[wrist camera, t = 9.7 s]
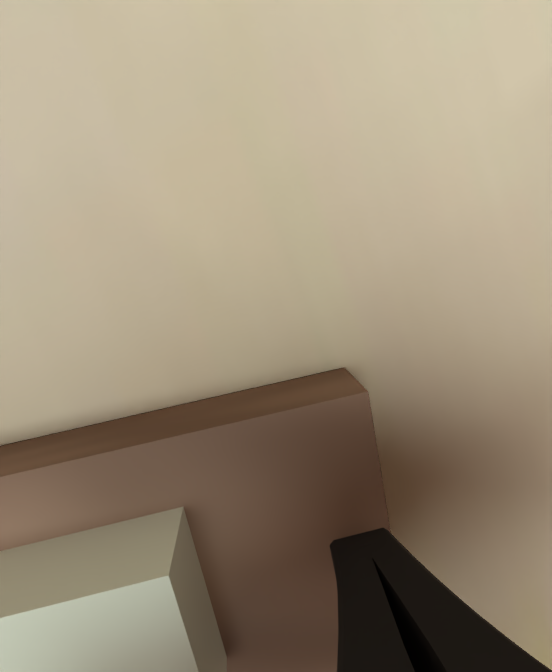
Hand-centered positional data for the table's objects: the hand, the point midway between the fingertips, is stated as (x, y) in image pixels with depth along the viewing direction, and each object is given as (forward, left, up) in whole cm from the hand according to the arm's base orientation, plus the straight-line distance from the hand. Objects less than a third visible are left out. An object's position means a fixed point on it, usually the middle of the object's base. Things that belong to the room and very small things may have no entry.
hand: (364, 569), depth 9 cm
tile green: (0, +6, -1) cm, 6 cm away
